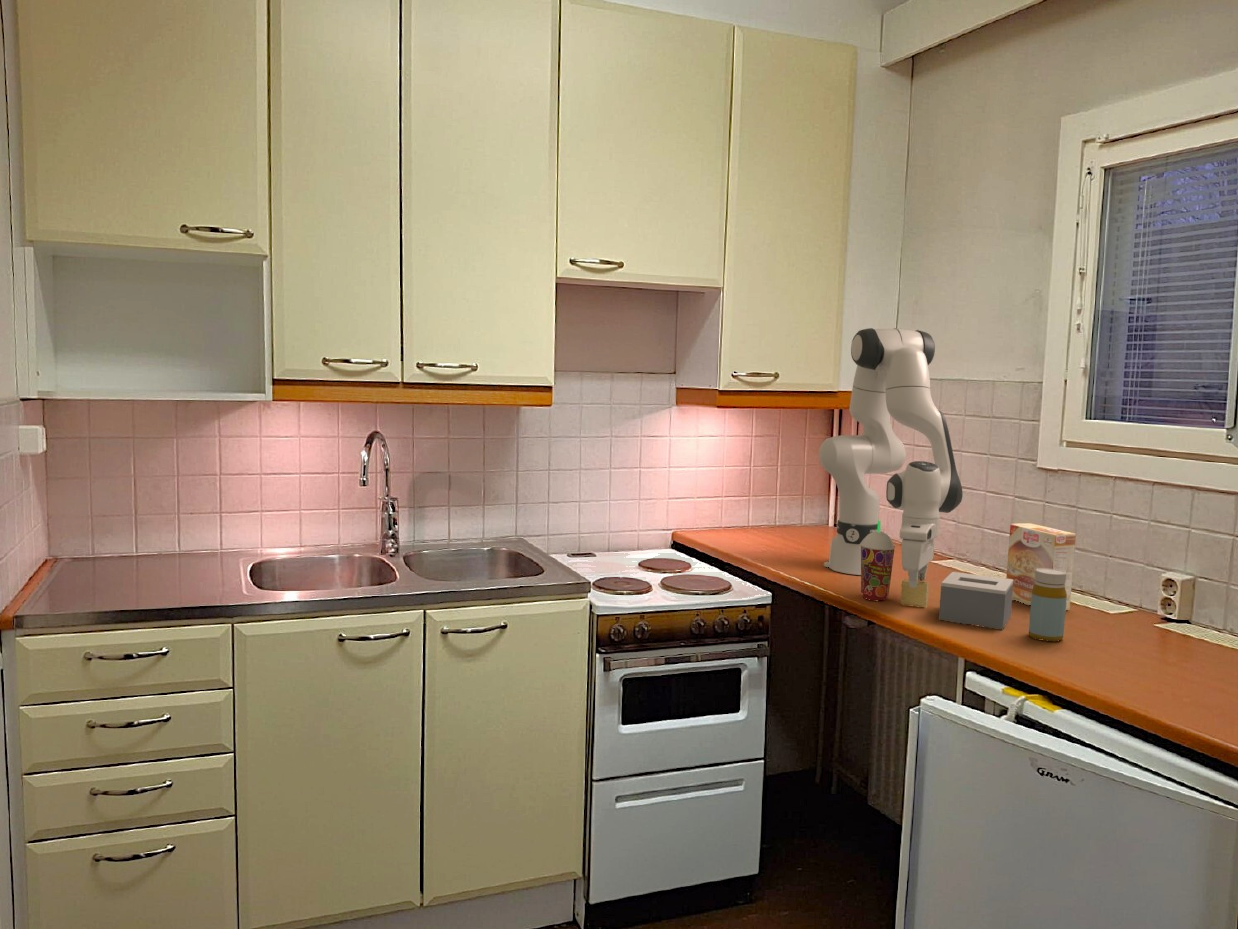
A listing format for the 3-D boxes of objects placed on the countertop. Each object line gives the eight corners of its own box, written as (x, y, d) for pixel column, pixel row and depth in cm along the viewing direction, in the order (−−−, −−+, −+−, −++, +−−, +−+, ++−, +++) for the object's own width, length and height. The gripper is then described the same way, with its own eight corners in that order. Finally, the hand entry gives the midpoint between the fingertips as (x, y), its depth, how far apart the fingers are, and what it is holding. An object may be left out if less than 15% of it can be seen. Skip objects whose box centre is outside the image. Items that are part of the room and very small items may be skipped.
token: (902, 602, 238) (904, 579, 237) (927, 606, 235) (929, 582, 234) (900, 604, 235) (902, 581, 235) (925, 608, 233) (927, 584, 232)
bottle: (1033, 631, 215) (1038, 566, 213) (1066, 637, 210) (1072, 571, 209) (1024, 637, 209) (1029, 571, 208) (1058, 644, 205) (1063, 576, 203)
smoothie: (868, 603, 236) (873, 523, 233) (851, 595, 244) (856, 518, 241) (898, 601, 238) (903, 523, 236) (880, 593, 246) (885, 517, 244)
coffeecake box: (1003, 597, 246) (1009, 523, 243) (1024, 596, 248) (1030, 522, 246) (1048, 612, 232) (1054, 534, 230) (1070, 610, 234) (1077, 532, 232)
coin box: (949, 607, 234) (952, 571, 233) (1010, 616, 227) (1013, 579, 226) (938, 620, 222) (941, 582, 221) (1002, 630, 215) (1005, 591, 214)
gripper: (916, 522, 243) (913, 575, 244) (898, 532, 225) (895, 589, 227) (941, 524, 240) (938, 578, 241) (925, 534, 222) (922, 592, 224)
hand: (917, 583), depth 234 cm, fingers open, 8 cm apart
